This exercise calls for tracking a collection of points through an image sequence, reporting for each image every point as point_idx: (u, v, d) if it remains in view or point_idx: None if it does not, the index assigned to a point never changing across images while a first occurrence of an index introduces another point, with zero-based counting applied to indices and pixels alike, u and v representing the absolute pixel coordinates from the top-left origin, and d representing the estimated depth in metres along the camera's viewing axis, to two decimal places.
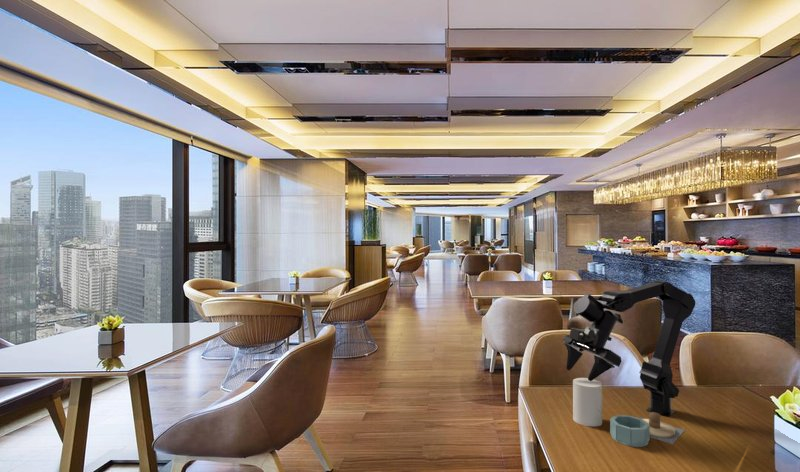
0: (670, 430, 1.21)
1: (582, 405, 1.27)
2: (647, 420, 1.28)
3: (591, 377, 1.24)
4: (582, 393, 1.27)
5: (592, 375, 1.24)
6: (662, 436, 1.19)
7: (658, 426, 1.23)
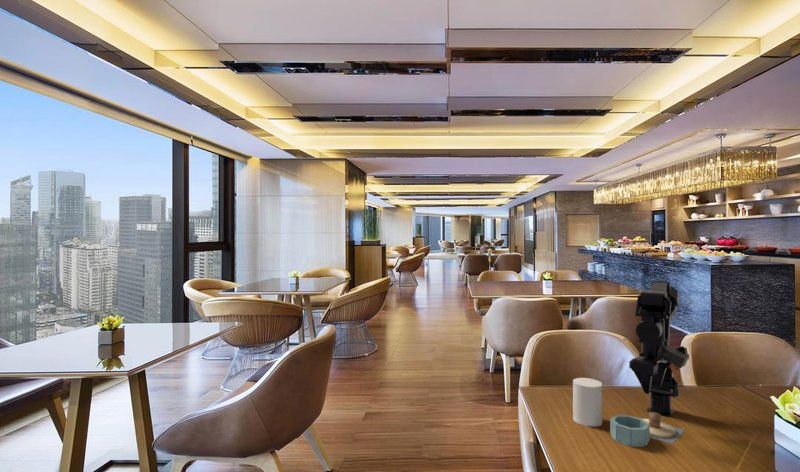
0: (670, 430, 1.21)
1: (582, 405, 1.27)
2: (647, 420, 1.28)
3: None
4: (582, 393, 1.27)
5: None
6: (662, 436, 1.19)
7: (658, 426, 1.23)
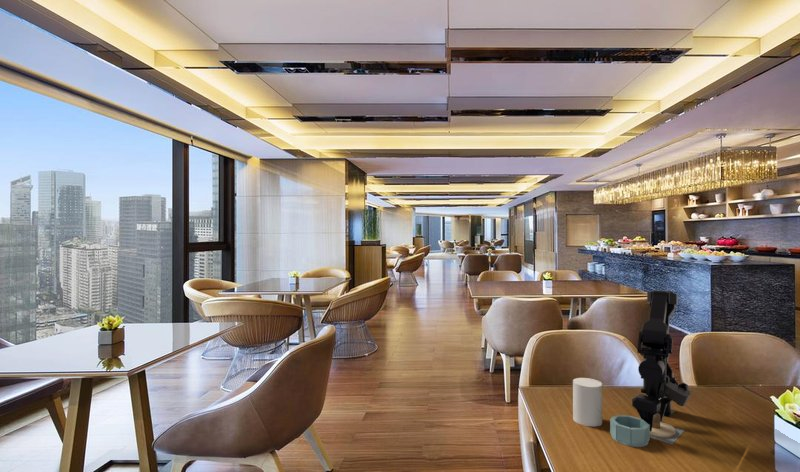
0: (670, 430, 1.21)
1: (582, 405, 1.27)
2: None
3: None
4: (582, 393, 1.27)
5: None
6: (662, 436, 1.19)
7: (658, 426, 1.23)
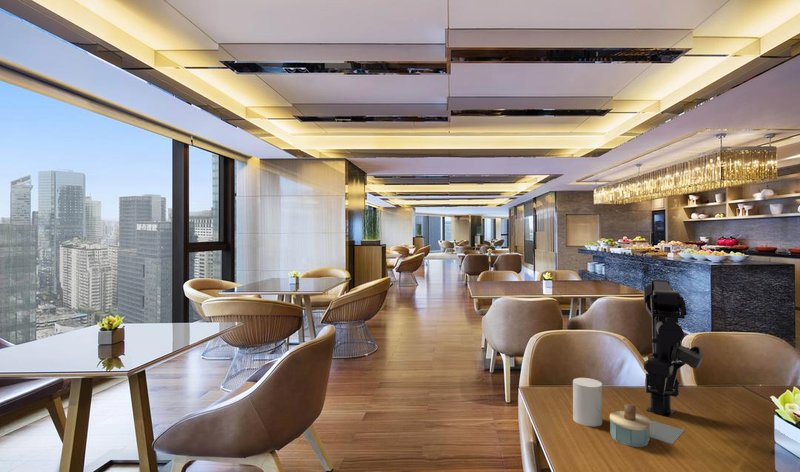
0: (645, 422, 1.16)
1: (582, 405, 1.27)
2: (622, 412, 1.22)
3: None
4: (582, 393, 1.27)
5: None
6: (637, 428, 1.14)
7: (633, 418, 1.17)
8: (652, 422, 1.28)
